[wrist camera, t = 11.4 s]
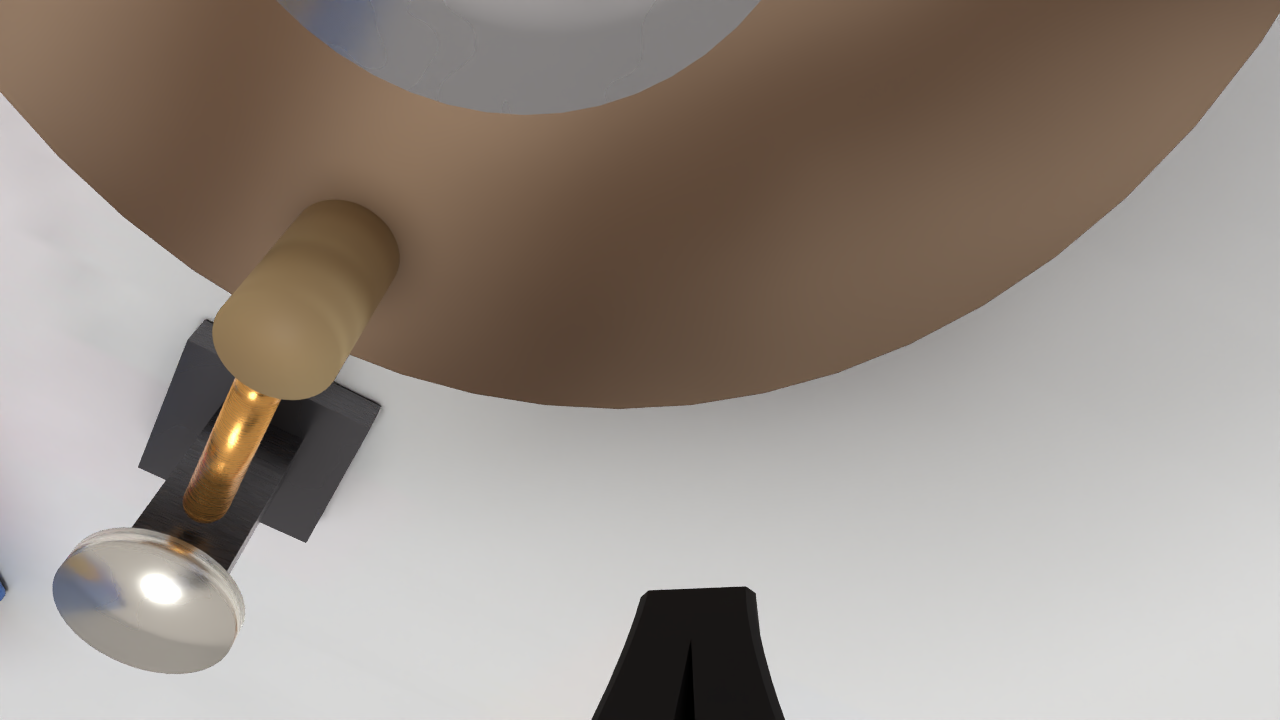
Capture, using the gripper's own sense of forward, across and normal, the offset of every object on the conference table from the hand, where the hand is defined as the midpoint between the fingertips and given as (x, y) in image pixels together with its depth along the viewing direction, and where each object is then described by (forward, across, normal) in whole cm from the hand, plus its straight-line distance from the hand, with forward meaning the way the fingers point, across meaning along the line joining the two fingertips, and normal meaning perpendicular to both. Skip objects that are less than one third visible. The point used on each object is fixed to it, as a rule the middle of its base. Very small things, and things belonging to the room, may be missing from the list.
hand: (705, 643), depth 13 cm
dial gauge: (+8, +9, +1) cm, 13 cm away
